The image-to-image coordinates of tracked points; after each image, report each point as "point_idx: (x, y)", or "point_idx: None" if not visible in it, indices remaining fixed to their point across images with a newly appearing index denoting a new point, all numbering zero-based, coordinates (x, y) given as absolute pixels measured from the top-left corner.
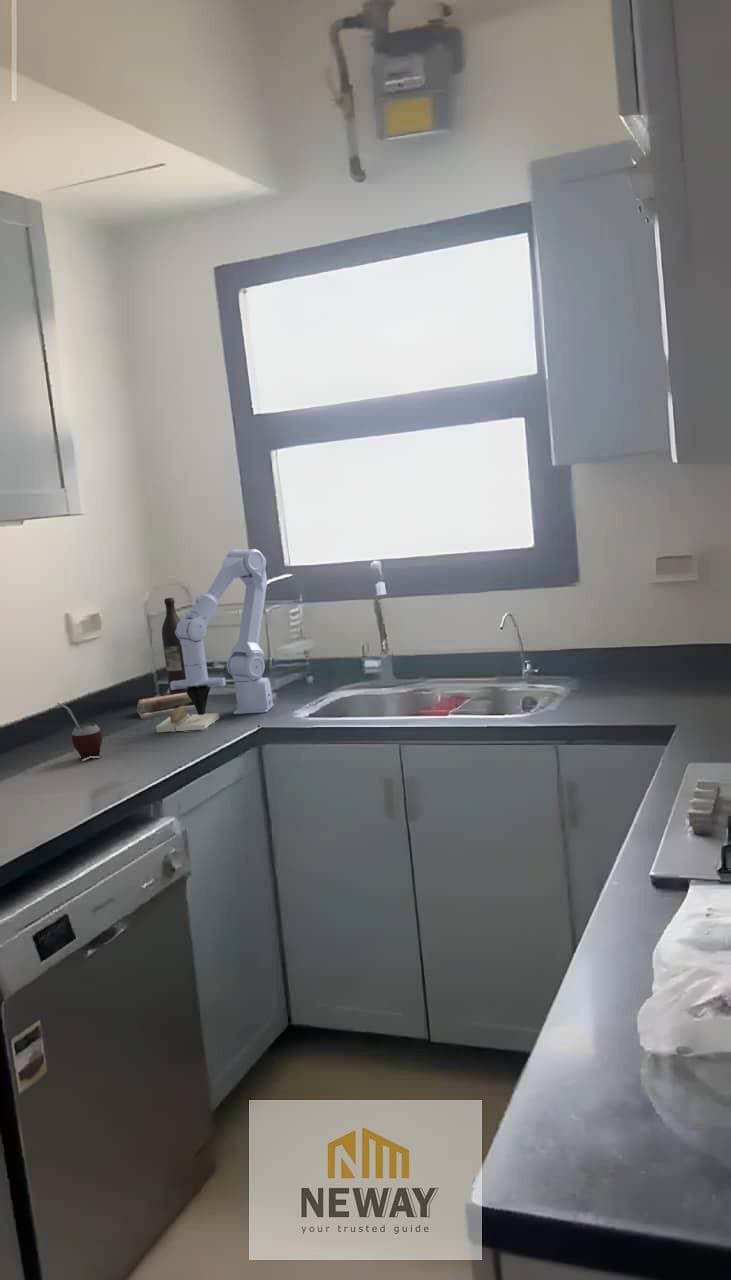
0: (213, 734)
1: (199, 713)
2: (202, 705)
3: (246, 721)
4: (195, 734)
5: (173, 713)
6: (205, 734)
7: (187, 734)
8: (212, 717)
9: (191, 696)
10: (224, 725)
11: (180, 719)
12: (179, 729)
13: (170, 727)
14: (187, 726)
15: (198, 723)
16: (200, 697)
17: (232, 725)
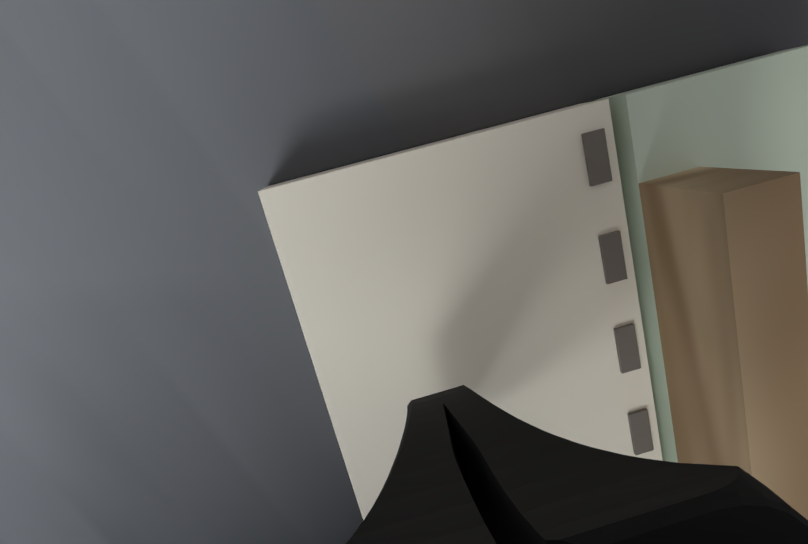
0: (36, 20)
1: (449, 394)
2: (397, 452)
3: (13, 530)
4: (281, 15)
5: (746, 185)
6: (147, 18)
7: (384, 12)
8: (358, 475)
9: (614, 476)
10: (166, 379)
11: (664, 313)
12: (549, 112)
13: (658, 84)
14: (464, 137)
15: (375, 234)
16: (415, 521)
17: (68, 386)
